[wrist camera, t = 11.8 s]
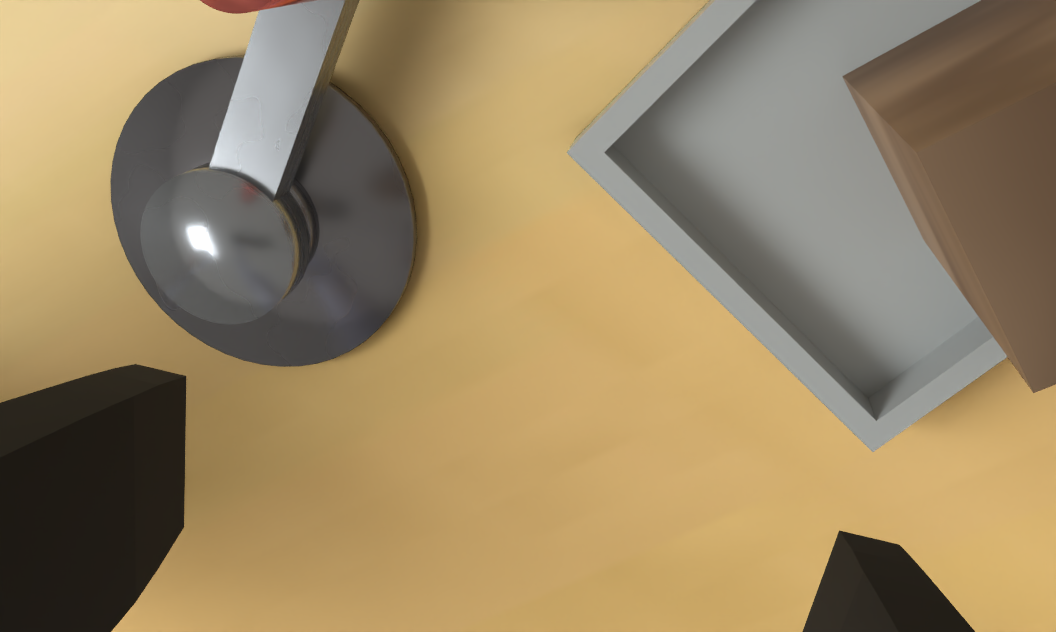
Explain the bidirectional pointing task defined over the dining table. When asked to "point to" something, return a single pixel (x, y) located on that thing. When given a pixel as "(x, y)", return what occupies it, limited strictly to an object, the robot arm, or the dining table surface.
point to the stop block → (979, 162)
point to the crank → (249, 171)
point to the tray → (794, 201)
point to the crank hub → (321, 192)
